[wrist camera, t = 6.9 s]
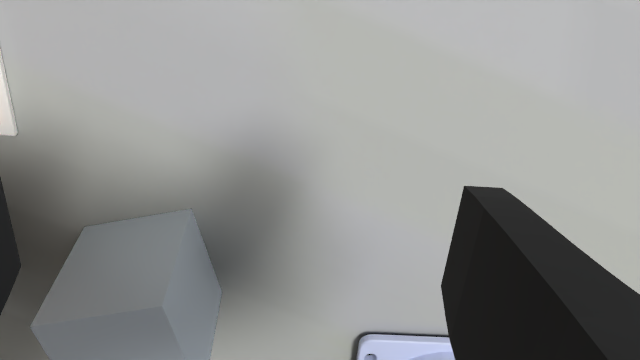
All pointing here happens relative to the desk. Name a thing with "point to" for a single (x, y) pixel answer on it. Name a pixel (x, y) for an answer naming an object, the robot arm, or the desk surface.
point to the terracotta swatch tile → (6, 105)
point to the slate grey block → (133, 293)
